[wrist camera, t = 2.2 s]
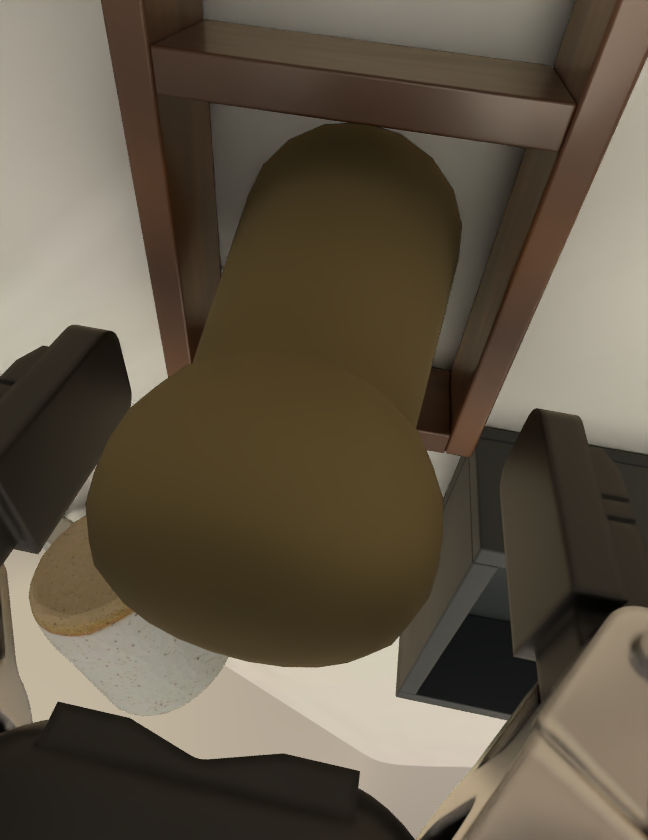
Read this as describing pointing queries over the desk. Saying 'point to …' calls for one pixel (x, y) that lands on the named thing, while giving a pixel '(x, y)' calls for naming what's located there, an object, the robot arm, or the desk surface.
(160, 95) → the divided wooden tray
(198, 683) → the ceramic mug
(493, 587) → the open box
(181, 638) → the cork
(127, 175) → the desk surface
